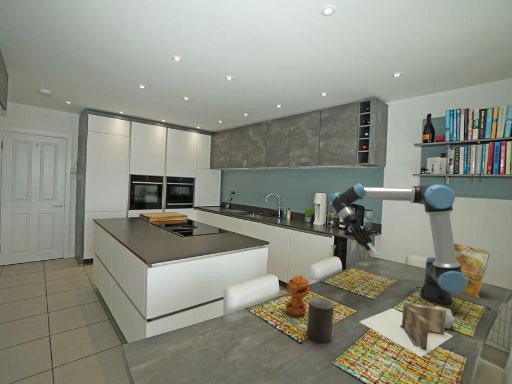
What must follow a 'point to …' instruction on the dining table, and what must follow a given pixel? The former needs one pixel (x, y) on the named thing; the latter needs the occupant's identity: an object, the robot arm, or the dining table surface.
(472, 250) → the pancake mix bag
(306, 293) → the orange carved figurine
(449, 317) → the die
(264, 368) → the dining table surface
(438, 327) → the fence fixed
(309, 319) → the pillar candle
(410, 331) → the fence gate
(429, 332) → the board
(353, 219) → the robot arm
